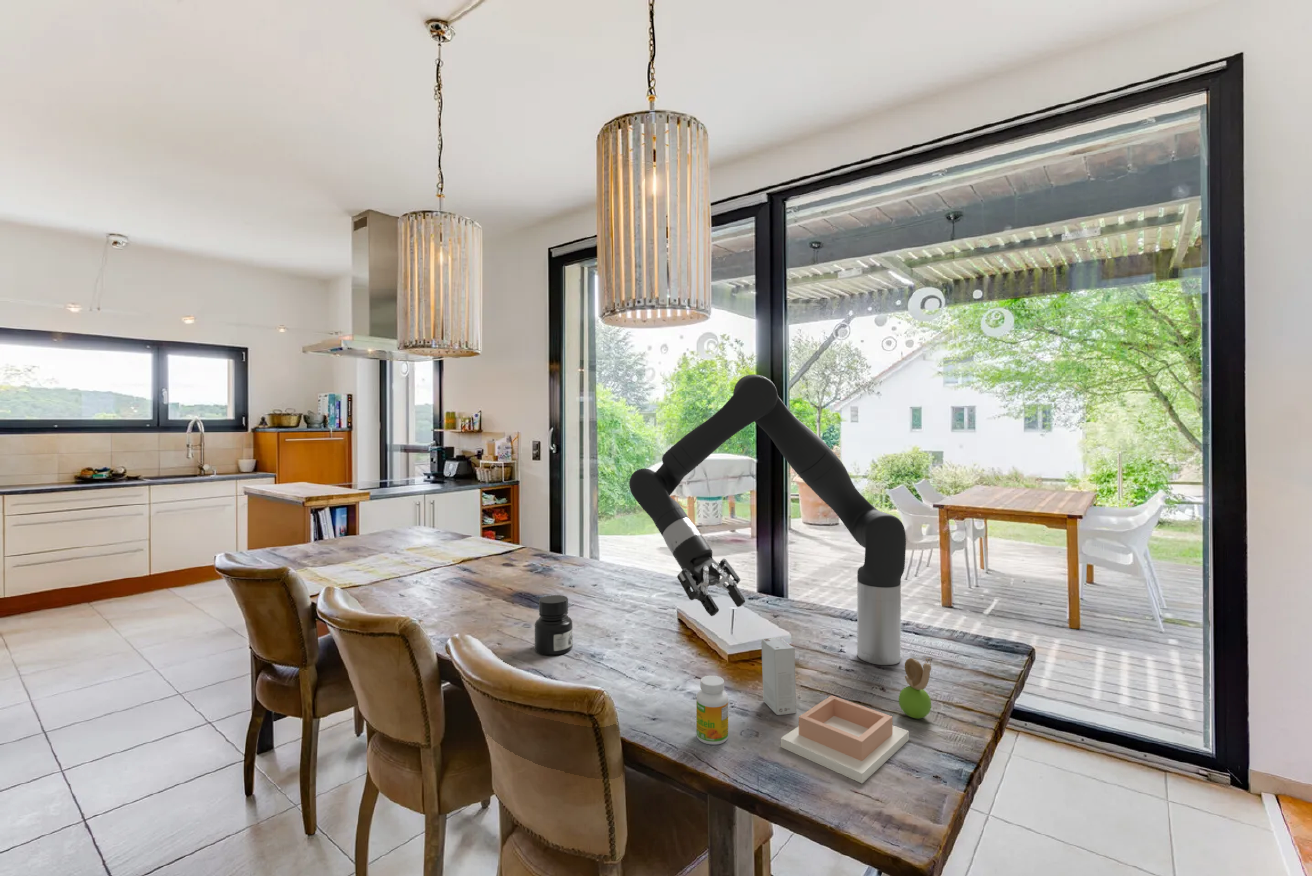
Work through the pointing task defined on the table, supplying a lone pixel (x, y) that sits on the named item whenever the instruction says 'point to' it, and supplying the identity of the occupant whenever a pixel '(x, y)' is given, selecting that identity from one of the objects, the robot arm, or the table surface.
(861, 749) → the socket stand
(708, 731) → the supplement bottle
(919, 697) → the snail figurine
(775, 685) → the skincare box
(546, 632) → the ink bottle
